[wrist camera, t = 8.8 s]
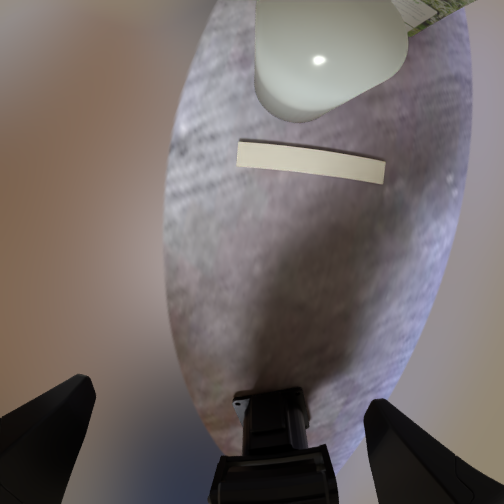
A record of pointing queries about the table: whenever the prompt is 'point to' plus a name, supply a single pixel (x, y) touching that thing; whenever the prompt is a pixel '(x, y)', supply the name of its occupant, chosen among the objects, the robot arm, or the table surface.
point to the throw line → (310, 161)
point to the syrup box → (426, 12)
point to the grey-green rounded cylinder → (323, 53)
